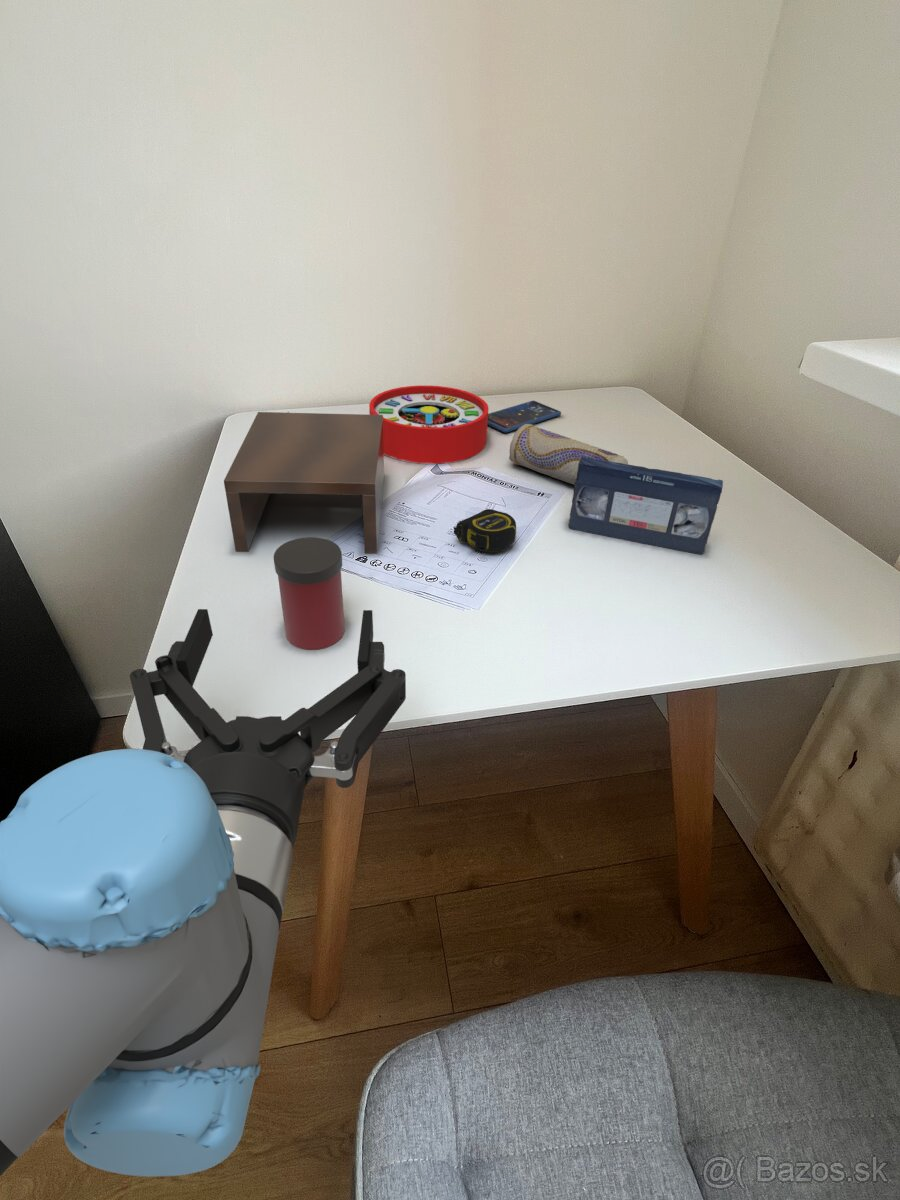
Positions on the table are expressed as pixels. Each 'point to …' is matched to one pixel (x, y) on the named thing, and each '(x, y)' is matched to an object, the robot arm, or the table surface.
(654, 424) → the table surface
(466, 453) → the toy clock
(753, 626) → the table surface
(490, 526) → the tape measure
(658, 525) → the vhs cassette tape
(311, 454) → the shelf
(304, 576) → the canister
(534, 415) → the smartphone
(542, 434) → the decorative bottle
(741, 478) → the table surface
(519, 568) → the table surface
